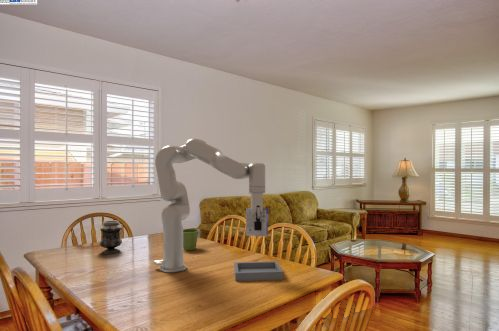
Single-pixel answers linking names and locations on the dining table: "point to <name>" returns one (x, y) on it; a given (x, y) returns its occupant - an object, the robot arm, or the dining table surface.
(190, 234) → the plant pot
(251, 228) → the ink cartridge box
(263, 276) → the trough
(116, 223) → the apothecary jar
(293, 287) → the dining table surface
